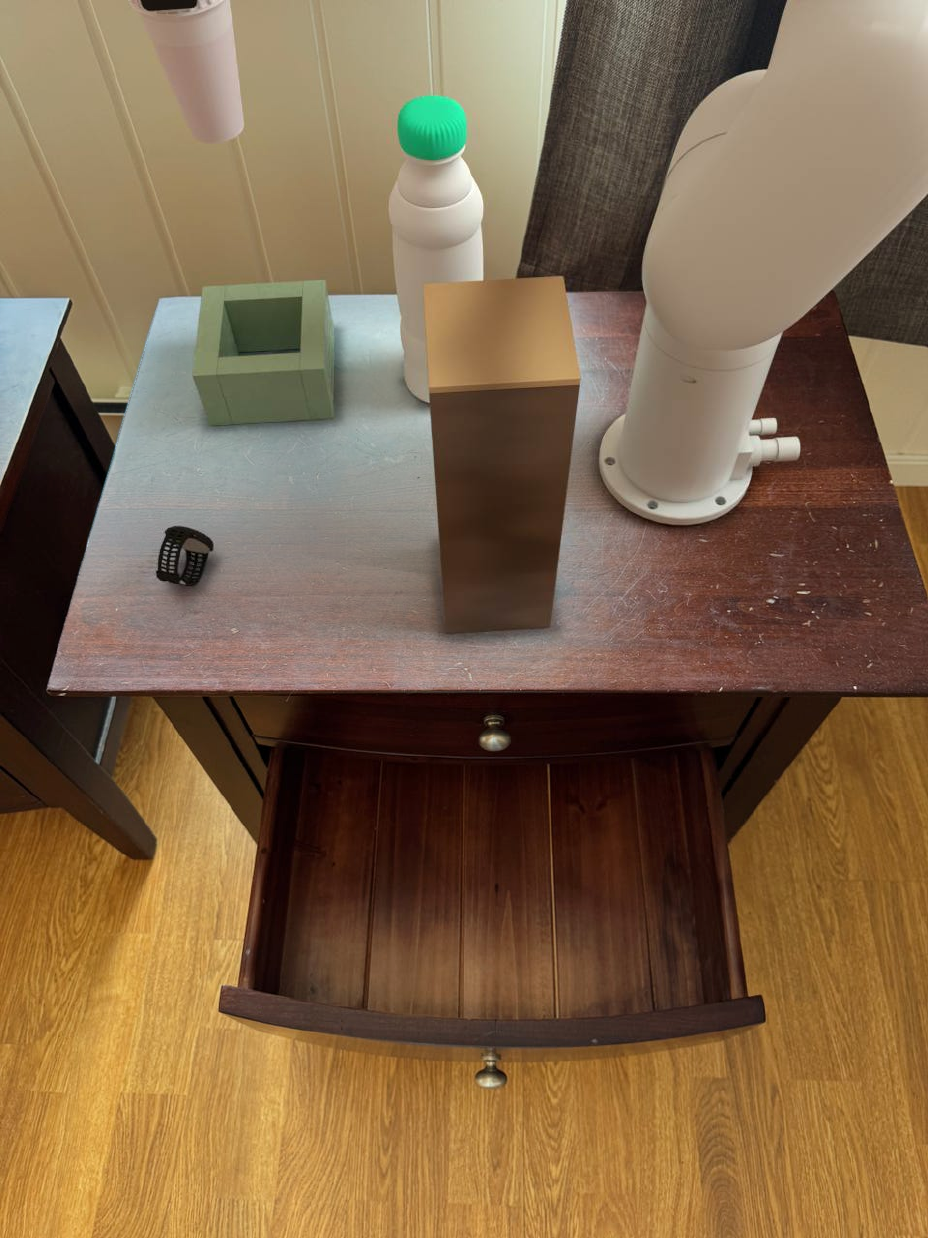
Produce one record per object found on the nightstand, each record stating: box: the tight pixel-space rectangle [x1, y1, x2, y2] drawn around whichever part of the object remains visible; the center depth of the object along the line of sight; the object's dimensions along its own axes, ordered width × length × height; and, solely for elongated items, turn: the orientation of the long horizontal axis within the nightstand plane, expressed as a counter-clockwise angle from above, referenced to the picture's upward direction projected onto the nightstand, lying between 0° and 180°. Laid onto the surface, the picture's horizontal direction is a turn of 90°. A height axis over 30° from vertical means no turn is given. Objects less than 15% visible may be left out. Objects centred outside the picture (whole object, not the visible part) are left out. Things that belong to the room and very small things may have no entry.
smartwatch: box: [155, 525, 215, 588], centre depth 73 cm, size 4×5×5 cm
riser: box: [423, 275, 582, 634], centre depth 63 cm, size 8×8×26 cm
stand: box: [192, 279, 335, 427], centre depth 83 cm, size 11×11×6 cm
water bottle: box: [387, 94, 484, 404], centre depth 75 cm, size 7×7×25 cm
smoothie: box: [127, 0, 245, 144], centre depth 59 cm, size 6×6×14 cm
